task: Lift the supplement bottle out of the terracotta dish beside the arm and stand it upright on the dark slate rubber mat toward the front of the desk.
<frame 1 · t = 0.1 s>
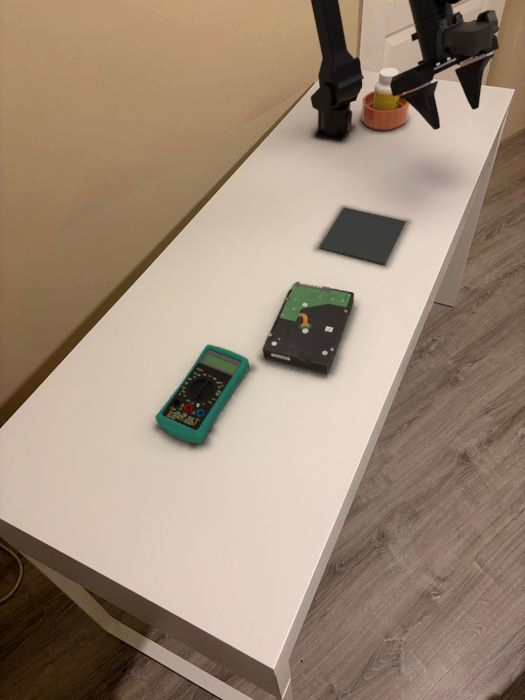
hand: (456, 118, 83), 15 cm above the table, tool tilted 35°, fingers open, 9 cm apart
digital multimeter: (206, 397, 72), on the table
supplement bottle: (384, 118, 112), resting on dish
disk drive: (310, 331, 77), on the table
dish: (383, 119, 112), on the table
mat: (362, 235, 89), on the table
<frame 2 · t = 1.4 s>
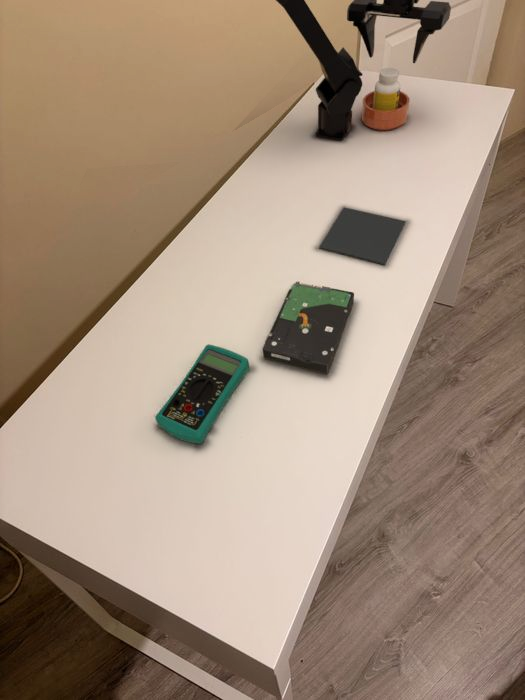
hand: (392, 59, 102), 13 cm above the table, tool pointing down, fingers open, 9 cm apart
nothing on the table moved.
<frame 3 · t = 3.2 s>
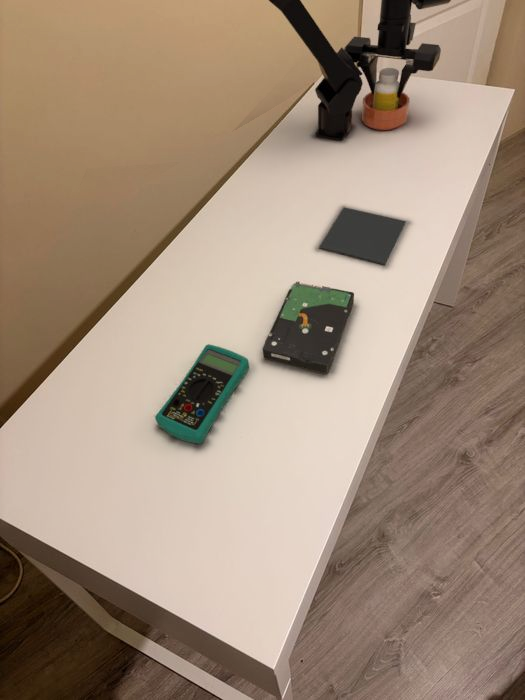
hand: (386, 95, 108), 6 cm above the table, tool pointing down, fingers closed on supplement bottle, 5 cm apart
supplement bottle: (384, 118, 112), resting on dish, touching gripper
everything else where it was.
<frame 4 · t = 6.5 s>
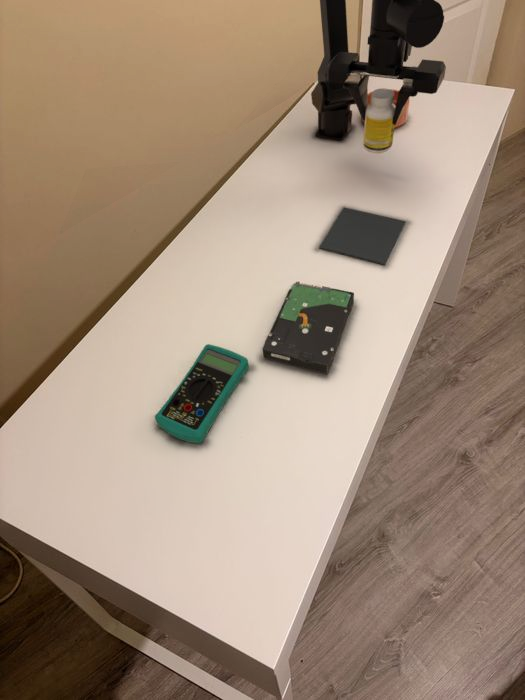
hand: (379, 121, 89), 12 cm above the table, tool pointing down, fingers closed on supplement bottle, 5 cm apart
supplement bottle: (377, 147, 93), point 7 cm above the table, touching gripper
everything else where it was.
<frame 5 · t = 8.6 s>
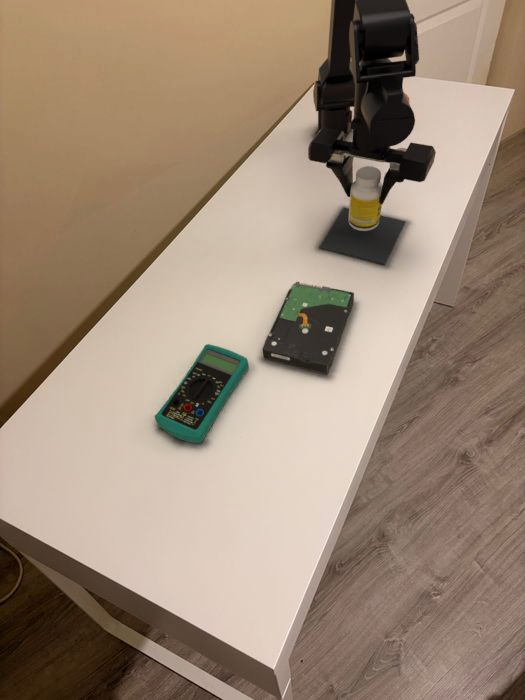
hand: (366, 199, 83), 8 cm above the table, tool pointing down, fingers closed on supplement bottle, 5 cm apart
supplement bottle: (363, 222, 87), point 3 cm above the table, touching gripper
everything else where it was.
when the fingers open (5 cm above the table, at t = 9.8 s): supplement bottle stays where it is, resting on mat.
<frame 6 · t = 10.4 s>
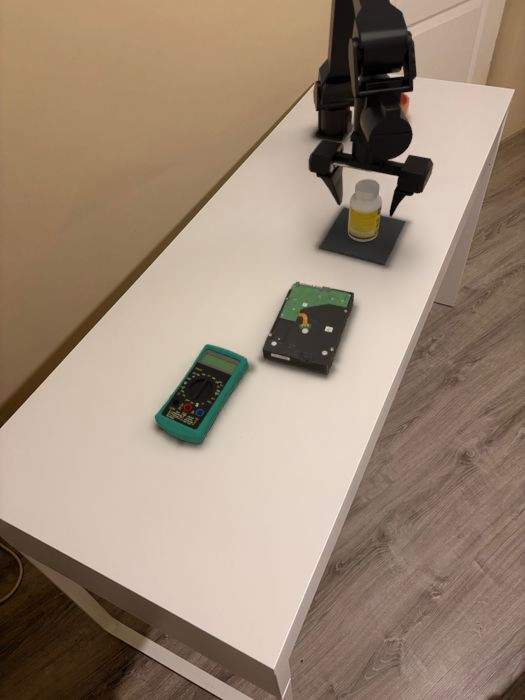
hand: (365, 209, 85), 6 cm above the table, tool pointing down, fingers open, 9 cm apart
supplement bottle: (362, 233, 89), resting on mat
everything else where it was.
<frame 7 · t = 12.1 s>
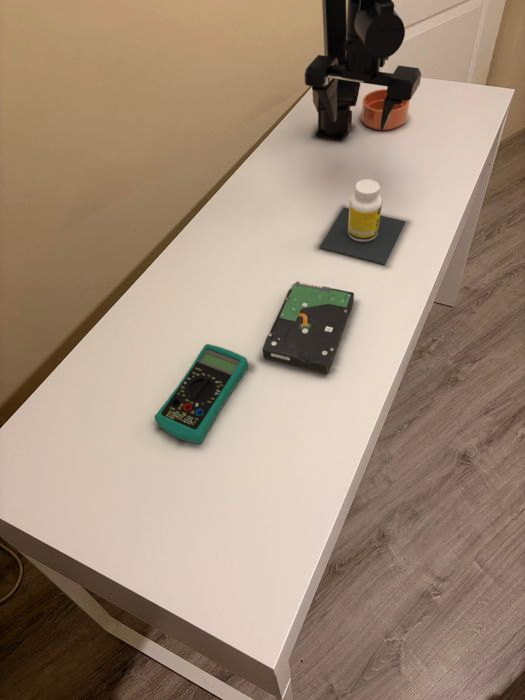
hand: (358, 125, 90), 12 cm above the table, tool pointing down, fingers open, 9 cm apart
nothing on the table moved.
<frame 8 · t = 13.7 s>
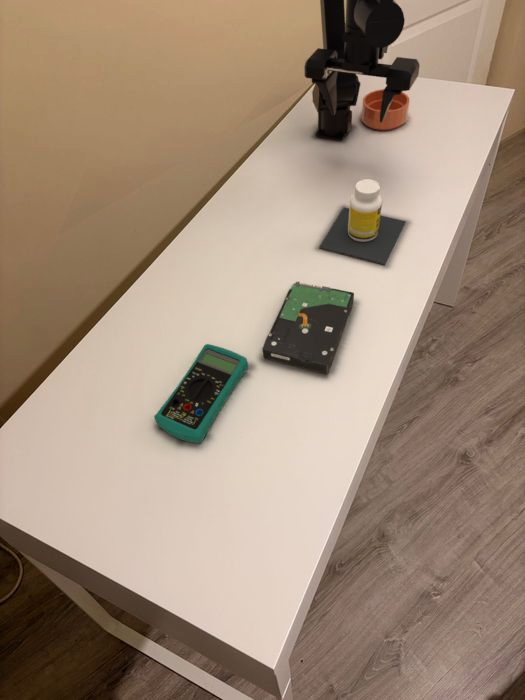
hand: (357, 117, 91), 12 cm above the table, tool pointing down, fingers open, 9 cm apart
nothing on the table moved.
at the end: supplement bottle inside the target area on the mat (0.2 cm from its centre), point 0.2 cm above the mat's base; supplement bottle tilted 0°; supplement bottle touching mat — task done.
